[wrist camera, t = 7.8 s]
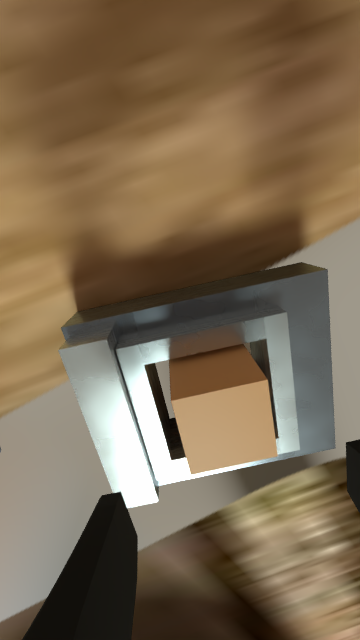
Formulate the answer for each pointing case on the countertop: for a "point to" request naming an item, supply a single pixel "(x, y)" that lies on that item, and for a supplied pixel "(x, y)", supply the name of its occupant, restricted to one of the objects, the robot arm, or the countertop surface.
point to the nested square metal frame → (191, 338)
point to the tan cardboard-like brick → (222, 409)
